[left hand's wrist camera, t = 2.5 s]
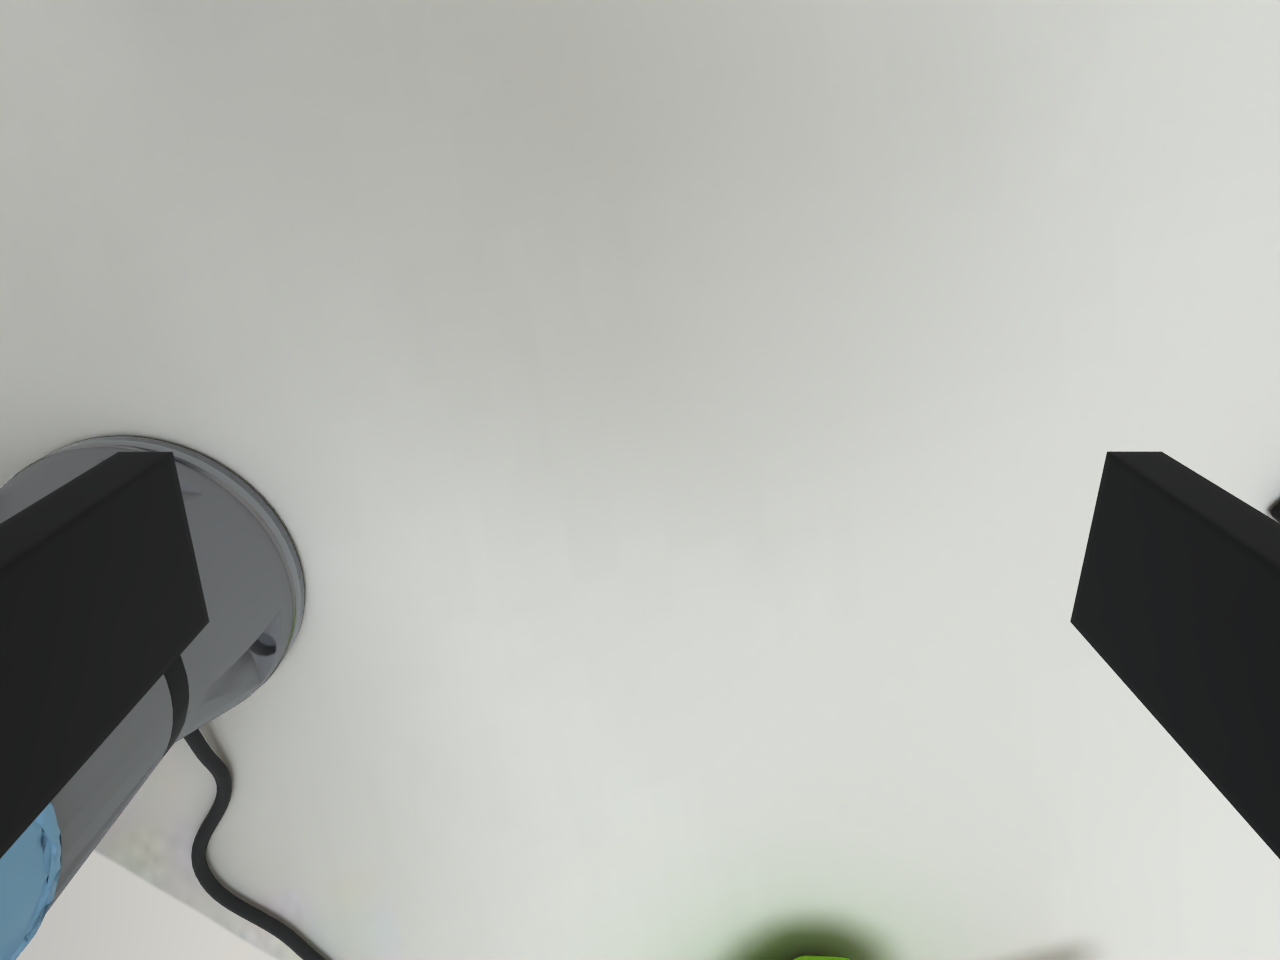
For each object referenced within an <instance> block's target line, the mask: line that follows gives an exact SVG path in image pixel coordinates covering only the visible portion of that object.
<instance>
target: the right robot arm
mask: <svg viewBox="0 0 1280 960" xmlns="http://www.w3.org/2000/svg"><path fill="white" fill-rule="evenodd" d="M117 452H173V455H174V460H175V464H176V469H177V473H178V478H179V483H180V487H181V492H182V497H183V501H184V506H185V511H186V515H187V520H188V524H189V529H190V534H191V538H192V543H193V548H194V552H195V557H196V562H197V566H198V571H199V575H200V580H201V585H202V589H203V594H204V599H205V603H206V608H207V613H208V617H209V623H208V624H207V625H206V626H205V627H204V629H203V630H202V631H201V632H200V633H199V634H198V635H197V636H196V638H195V639H194V640H193V641H192V642H191V643H190V644H189V646H188V647H187V648H186V649H185V650H184V651H183V652H182V654H181V655H180V656H179V657H178V658H177V659H176V660H175V661H174V663H173V664H172V665H171V666H170V667H169V668H168V669H167V671H166V672H165V673H164V674H163V675H162V676H161V677H160V678H159V680H158V681H157V682H156V683H155V684H154V685H153V686H152V688H151V689H150V690H149V691H148V692H147V693H146V694H145V695H144V697H143V698H142V699H141V700H140V701H139V702H138V703H137V705H136V706H135V707H134V708H133V709H132V710H131V711H130V712H129V714H128V715H127V716H126V717H125V718H124V719H123V720H122V722H121V723H120V724H119V725H118V726H117V727H116V728H115V729H114V731H113V732H112V733H111V734H110V735H109V736H108V737H107V739H106V740H105V741H104V742H103V743H102V744H101V745H100V746H99V748H98V749H97V750H96V751H95V752H94V753H93V754H92V756H91V757H90V758H89V759H88V760H87V761H86V762H85V763H84V765H83V766H82V767H81V768H80V769H79V770H78V771H77V773H76V774H75V775H74V776H73V777H72V778H71V779H70V780H69V782H68V783H67V784H66V785H65V786H64V787H63V788H62V790H61V791H60V792H59V793H58V794H57V795H56V796H55V798H54V799H53V800H52V801H51V802H50V803H49V804H48V805H47V807H46V808H45V809H44V810H43V811H42V812H41V813H40V815H39V816H38V817H37V818H36V819H35V820H34V821H33V822H32V824H31V825H30V826H29V827H28V828H27V829H26V830H25V832H24V833H23V834H22V835H21V836H20V837H19V838H18V839H17V841H16V842H15V843H14V844H13V845H12V846H11V847H10V849H9V850H8V851H7V852H6V853H5V854H4V855H3V856H2V858H1V859H0V960H15V959H16V958H17V957H18V956H19V954H20V953H21V952H22V951H23V950H24V948H25V947H26V946H27V944H28V943H29V942H30V940H31V939H32V938H33V937H34V935H35V934H36V932H37V930H38V928H39V927H40V925H41V923H42V920H43V918H44V916H45V914H46V912H47V911H48V910H49V909H50V907H51V906H52V905H53V903H54V902H55V900H56V899H57V898H58V897H59V895H60V894H61V893H62V891H63V890H64V889H65V887H66V886H67V885H68V883H69V882H70V880H71V879H72V878H73V876H74V875H75V874H76V873H77V871H78V870H79V868H80V867H81V866H82V865H83V863H84V862H85V861H86V859H87V858H88V857H89V855H90V854H91V853H92V851H93V850H94V849H95V847H96V846H97V845H98V843H99V842H100V841H101V839H102V838H103V837H104V835H105V834H106V833H107V831H108V830H109V829H110V827H111V826H112V825H113V823H114V822H115V821H116V819H117V818H118V817H119V815H120V814H121V813H122V811H123V810H124V809H125V807H126V806H127V805H128V803H129V802H130V801H131V799H132V798H133V797H134V795H135V794H136V793H137V791H138V790H139V789H140V787H141V786H142V785H143V783H144V782H145V781H146V779H147V778H148V777H149V775H150V774H151V773H152V771H153V770H154V769H155V767H156V766H157V765H158V763H159V762H160V761H161V759H162V758H163V757H164V755H165V754H166V753H167V751H168V750H169V749H170V747H171V746H172V745H173V744H174V743H175V742H177V741H178V740H180V739H182V738H183V737H184V739H185V740H186V742H187V743H188V745H189V746H190V748H191V749H192V751H193V752H194V754H195V755H196V756H197V758H198V759H199V760H200V761H201V763H202V764H203V765H204V766H205V767H206V768H207V769H208V770H209V771H210V772H211V774H212V775H213V777H214V778H215V781H216V784H217V794H216V798H215V801H214V804H213V806H212V808H211V810H210V812H209V814H208V815H207V817H206V819H205V820H204V822H203V824H202V825H201V827H200V829H199V831H198V833H197V835H196V837H195V840H194V843H193V846H192V866H193V869H194V872H195V875H196V877H197V879H198V881H199V882H200V884H201V885H202V887H203V888H204V889H205V890H206V892H207V893H208V894H209V895H210V896H211V897H212V898H213V899H215V900H216V901H217V902H218V903H220V904H221V905H222V906H224V907H225V908H227V909H228V910H230V911H232V912H233V913H235V914H237V915H239V916H240V917H242V918H244V919H246V920H248V921H250V922H252V923H253V924H255V925H257V926H259V927H261V928H262V929H264V930H266V931H268V932H269V933H271V934H272V935H274V936H275V937H277V938H278V939H280V940H281V941H282V942H284V943H285V944H286V945H287V946H288V947H290V948H291V949H292V950H293V951H294V952H295V953H296V954H297V955H298V956H300V957H301V958H302V959H303V960H325V959H324V958H323V957H322V956H321V955H320V954H319V953H317V952H316V951H315V950H314V949H313V948H312V947H311V946H309V945H308V944H307V943H306V942H305V941H304V940H303V939H302V938H301V937H299V936H298V935H297V934H296V933H295V932H294V931H292V930H291V929H290V928H288V927H287V926H286V925H284V924H283V923H281V922H280V921H278V920H276V919H275V918H273V917H271V916H270V915H268V914H266V913H264V912H262V911H261V910H259V909H257V908H255V907H253V906H251V905H250V904H248V903H246V902H244V901H243V900H241V899H239V898H238V897H236V896H235V895H233V894H232V893H230V892H229V891H228V890H227V889H225V888H224V887H223V886H222V885H221V884H220V883H219V882H218V881H217V879H216V878H215V877H214V876H213V874H212V872H211V870H210V869H209V867H208V864H207V861H206V848H207V845H208V841H209V839H210V837H211V835H212V833H213V832H214V830H215V828H216V826H217V825H218V823H219V821H220V820H221V818H222V816H223V815H224V813H225V811H226V809H227V806H228V804H229V801H230V797H231V777H230V773H229V771H228V769H227V767H226V766H225V765H224V763H223V762H222V761H221V760H220V759H219V758H218V757H217V755H216V754H215V753H214V752H213V751H212V749H211V748H210V747H209V745H208V744H207V742H206V741H205V739H204V737H203V736H202V734H201V733H200V731H199V730H198V728H200V727H201V726H203V725H205V724H206V723H208V722H210V721H211V720H213V719H215V718H216V717H218V716H220V715H221V714H223V713H225V712H226V711H228V710H230V709H231V708H233V707H235V706H236V705H238V704H239V703H241V702H242V701H244V700H245V699H246V698H248V697H249V696H250V695H251V694H252V693H254V692H255V691H256V690H257V689H258V688H259V687H260V686H261V685H263V684H264V683H265V682H266V681H267V680H268V679H269V677H270V676H271V675H272V674H273V673H274V672H275V670H276V669H277V667H278V666H279V664H280V663H281V661H282V660H283V658H284V657H285V655H286V654H287V652H288V651H289V649H290V648H291V646H292V644H293V642H294V640H295V638H296V636H297V634H298V631H299V628H300V625H301V621H302V617H303V611H304V601H305V596H304V581H303V574H302V570H301V566H300V562H299V559H298V556H297V553H296V550H295V548H294V546H293V544H292V541H291V539H290V537H289V535H288V533H287V532H286V530H285V528H284V527H283V525H282V523H281V522H280V520H279V519H278V518H277V516H276V515H275V513H274V512H273V511H272V509H271V508H270V507H269V506H268V505H267V504H266V502H265V501H264V500H263V499H262V498H261V497H260V496H259V495H258V494H257V493H256V492H255V491H254V490H253V489H252V488H251V487H250V486H248V485H247V484H246V483H245V482H244V481H242V480H241V479H240V478H239V477H237V476H236V475H235V474H233V473H232V472H230V471H229V470H227V469H226V468H224V467H223V466H221V465H219V464H218V463H216V462H214V461H213V460H211V459H209V458H207V457H205V456H203V455H201V454H199V453H196V452H194V451H191V450H189V449H186V448H184V447H181V446H178V445H174V444H171V443H168V442H164V441H159V440H155V439H150V438H142V437H134V436H109V437H99V438H93V439H87V440H83V441H80V442H76V443H73V444H70V445H67V446H65V447H62V448H60V449H58V450H56V451H54V452H52V453H50V454H48V455H47V456H45V457H43V458H41V459H39V460H37V461H36V462H34V463H32V464H30V465H28V466H27V467H26V468H24V469H23V470H21V471H20V472H18V473H17V474H16V475H15V476H14V477H13V478H12V479H11V480H9V481H8V482H7V483H6V484H5V485H4V486H3V487H2V488H1V489H0V524H1V523H2V522H4V521H6V520H7V519H9V518H11V517H12V516H14V515H15V514H17V513H19V512H20V511H22V510H24V509H25V508H27V507H29V506H30V505H32V504H33V503H35V502H37V501H38V500H40V499H42V498H43V497H45V496H47V495H48V494H50V493H52V492H53V491H55V490H56V489H58V488H60V487H61V486H63V485H65V484H66V483H68V482H70V481H71V480H73V479H74V478H76V477H78V476H79V475H81V474H83V473H84V472H86V471H88V470H89V469H91V468H93V467H94V466H96V465H97V464H99V463H101V462H102V461H104V460H106V459H107V458H109V457H111V456H112V455H114V454H115V453H117Z"/></svg>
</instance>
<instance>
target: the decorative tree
mask: <svg viewBox="0 0 1280 960" xmlns="http://www.w3.org/2000/svg"><path fill="white" fill-rule="evenodd" d="M793 960H850V959H848V958H843V957H827V956H806V955H805V956H800V957H797V958H795V959H793Z"/></svg>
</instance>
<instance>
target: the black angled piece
mask: <svg viewBox="0 0 1280 960" xmlns="http://www.w3.org/2000/svg"><path fill="white" fill-rule="evenodd" d="M1271 515H1272V516H1273V517H1274V518H1275V519H1276V520H1277V521H1278V522H1279V523H1280V503H1279V504H1278V505H1276V506H1275V507H1274V508H1273V509H1272V510H1271Z"/></svg>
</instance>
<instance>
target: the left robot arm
mask: <svg viewBox="0 0 1280 960" xmlns="http://www.w3.org/2000/svg"><path fill="white" fill-rule="evenodd" d="M208 623H209V617H208V613H207V608H206V603H205V599H204V594H203V589H202V585H201V580H200V575H199V571H198V566H197V562H196V557H195V552H194V548H193V543H192V538H191V534H190V529H189V524H188V520H187V515H186V511H185V506H184V501H183V497H182V492H181V487H180V483H179V478H178V473H177V469H176V464H175V460H174V455H173V452H117V453H115V454H114V455H112V456H111V457H109V458H107V459H106V460H104V461H102V462H101V463H99V464H97V465H96V466H94V467H93V468H91V469H89V470H88V471H86V472H84V473H83V474H81V475H79V476H78V477H76V478H74V479H73V480H71V481H70V482H68V483H66V484H65V485H63V486H61V487H60V488H58V489H56V490H55V491H53V492H52V493H50V494H48V495H47V496H45V497H43V498H42V499H40V500H38V501H37V502H35V503H33V504H32V505H30V506H29V507H27V508H25V509H24V510H22V511H20V512H19V513H17V514H15V515H14V516H12V517H11V518H9V519H7V520H6V521H4V522H2V523H1V524H0V859H1V858H2V856H3V855H4V854H5V853H6V852H7V851H8V850H9V849H10V847H11V846H12V845H13V844H14V843H15V842H16V841H17V839H18V838H19V837H20V836H21V835H22V834H23V833H24V832H25V830H26V829H27V828H28V827H29V826H30V825H31V824H32V822H33V821H34V820H35V819H36V818H37V817H38V816H39V815H40V813H41V812H42V811H43V810H44V809H45V808H46V807H47V805H48V804H49V803H50V802H51V801H52V800H53V799H54V798H55V796H56V795H57V794H58V793H59V792H60V791H61V790H62V788H63V787H64V786H65V785H66V784H67V783H68V782H69V780H70V779H71V778H72V777H73V776H74V775H75V774H76V773H77V771H78V770H79V769H80V768H81V767H82V766H83V765H84V763H85V762H86V761H87V760H88V759H89V758H90V757H91V756H92V754H93V753H94V752H95V751H96V750H97V749H98V748H99V746H100V745H101V744H102V743H103V742H104V741H105V740H106V739H107V737H108V736H109V735H110V734H111V733H112V732H113V731H114V729H115V728H116V727H117V726H118V725H119V724H120V723H121V722H122V720H123V719H124V718H125V717H126V716H127V715H128V714H129V712H130V711H131V710H132V709H133V708H134V707H135V706H136V705H137V703H138V702H139V701H140V700H141V699H142V698H143V697H144V695H145V694H146V693H147V692H148V691H149V690H150V689H151V688H152V686H153V685H154V684H155V683H156V682H157V681H158V680H159V678H160V677H161V676H162V675H163V674H164V673H165V672H166V671H167V669H168V668H169V667H170V666H171V665H172V664H173V663H174V661H175V660H176V659H177V658H178V657H179V656H180V655H181V654H182V652H183V651H184V650H185V649H186V648H187V647H188V646H189V644H190V643H191V642H192V641H193V640H194V639H195V638H196V636H197V635H198V634H199V633H200V632H201V631H202V630H203V629H204V627H205V626H206V625H207V624H208ZM1071 623H1072V624H1073V625H1074V626H1075V627H1076V629H1077V630H1078V631H1079V632H1080V633H1081V634H1082V635H1083V636H1084V638H1085V639H1086V640H1087V641H1088V642H1089V643H1090V644H1091V646H1092V647H1093V648H1094V649H1095V650H1096V651H1097V652H1098V654H1099V655H1100V656H1101V657H1102V658H1103V659H1104V660H1105V661H1106V663H1107V664H1108V665H1109V666H1110V667H1111V668H1112V669H1113V671H1114V672H1115V673H1116V674H1117V675H1118V676H1119V677H1120V678H1121V680H1122V681H1123V682H1124V683H1125V684H1126V685H1127V686H1128V688H1129V689H1130V690H1131V691H1132V692H1133V693H1134V694H1135V695H1136V697H1137V698H1138V699H1139V700H1140V701H1141V702H1142V703H1143V705H1144V706H1145V707H1146V708H1147V709H1148V710H1149V711H1150V712H1151V714H1152V715H1153V716H1154V717H1155V718H1156V719H1157V720H1158V722H1159V723H1160V724H1161V725H1162V726H1163V727H1164V728H1165V729H1166V731H1167V732H1168V733H1169V734H1170V735H1171V736H1172V737H1173V739H1174V740H1175V741H1176V742H1177V743H1178V744H1179V745H1180V746H1181V748H1182V749H1183V750H1184V751H1185V752H1186V753H1187V754H1188V756H1189V757H1190V758H1191V759H1192V760H1193V761H1194V762H1195V763H1196V765H1197V766H1198V767H1199V768H1200V769H1201V770H1202V771H1203V773H1204V774H1205V775H1206V776H1207V777H1208V778H1209V779H1210V780H1211V782H1212V783H1213V784H1214V785H1215V786H1216V787H1217V788H1218V790H1219V791H1220V792H1221V793H1222V794H1223V795H1224V796H1225V798H1226V799H1227V800H1228V801H1229V802H1230V803H1231V804H1232V805H1233V807H1234V808H1235V809H1236V810H1237V811H1238V812H1239V813H1240V815H1241V816H1242V817H1243V818H1244V819H1245V820H1246V821H1247V822H1248V824H1249V825H1250V826H1251V827H1252V828H1253V829H1254V830H1255V832H1256V833H1257V834H1258V835H1259V836H1260V837H1261V838H1262V839H1263V841H1264V842H1265V843H1266V844H1267V845H1268V846H1269V847H1270V849H1271V850H1272V851H1273V852H1274V853H1275V854H1276V855H1277V856H1278V858H1279V859H1280V524H1279V523H1278V522H1276V521H1274V520H1273V519H1271V518H1269V517H1268V516H1266V515H1265V514H1263V513H1261V512H1260V511H1258V510H1256V509H1255V508H1253V507H1251V506H1250V505H1248V504H1247V503H1245V502H1243V501H1242V500H1240V499H1238V498H1237V497H1235V496H1233V495H1232V494H1230V493H1228V492H1227V491H1225V490H1224V489H1222V488H1220V487H1219V486H1217V485H1215V484H1214V483H1212V482H1210V481H1209V480H1207V479H1206V478H1204V477H1202V476H1201V475H1199V474H1197V473H1196V472H1194V471H1192V470H1191V469H1189V468H1187V467H1186V466H1184V465H1183V464H1181V463H1179V462H1178V461H1176V460H1174V459H1173V458H1171V457H1169V456H1168V455H1166V454H1165V453H1163V452H1107V455H1106V460H1105V464H1104V469H1103V473H1102V478H1101V483H1100V487H1099V492H1098V497H1097V501H1096V506H1095V511H1094V515H1093V520H1092V524H1091V529H1090V534H1089V538H1088V543H1087V548H1086V552H1085V557H1084V562H1083V566H1082V571H1081V575H1080V580H1079V585H1078V589H1077V594H1076V599H1075V603H1074V608H1073V613H1072V617H1071Z"/></svg>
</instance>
